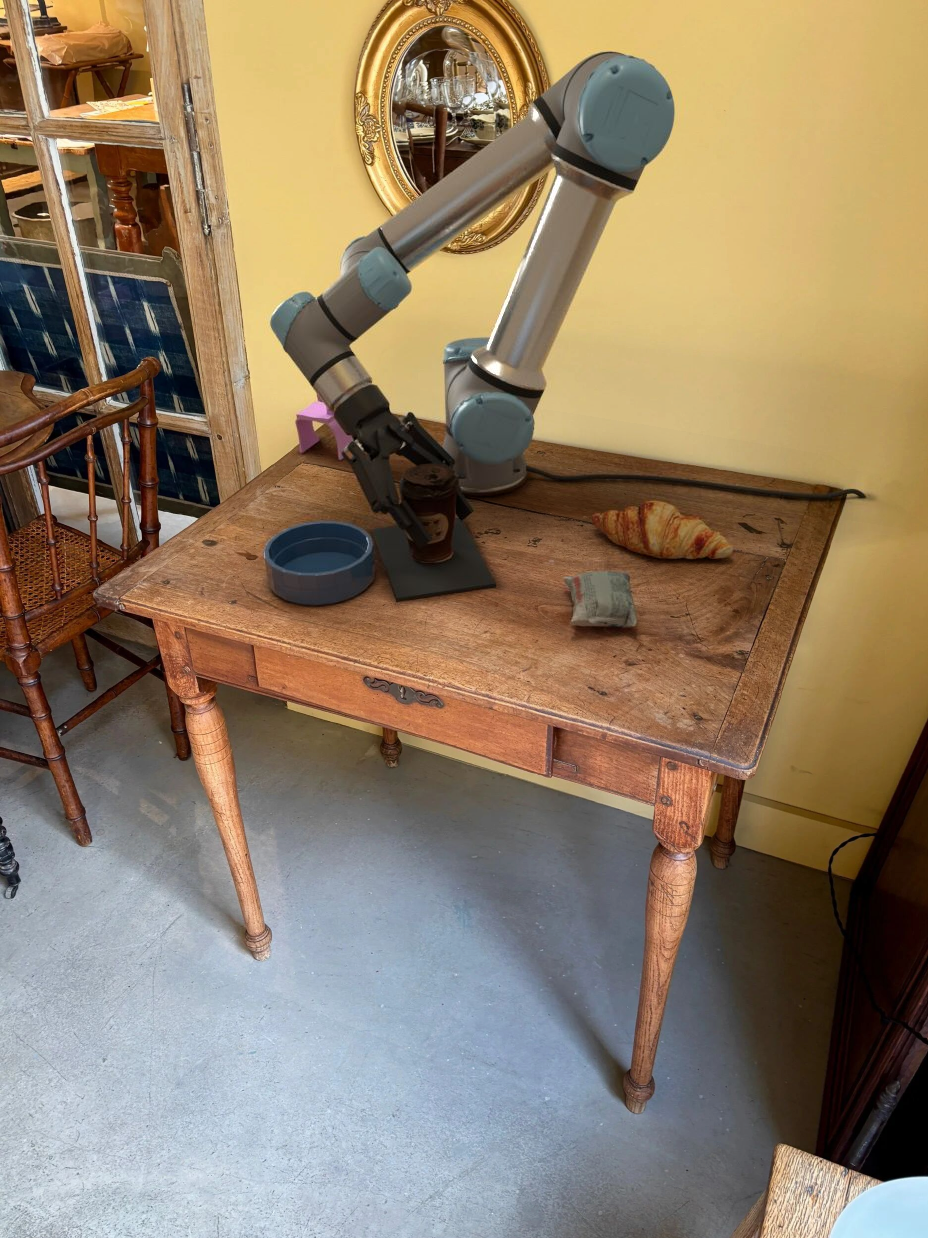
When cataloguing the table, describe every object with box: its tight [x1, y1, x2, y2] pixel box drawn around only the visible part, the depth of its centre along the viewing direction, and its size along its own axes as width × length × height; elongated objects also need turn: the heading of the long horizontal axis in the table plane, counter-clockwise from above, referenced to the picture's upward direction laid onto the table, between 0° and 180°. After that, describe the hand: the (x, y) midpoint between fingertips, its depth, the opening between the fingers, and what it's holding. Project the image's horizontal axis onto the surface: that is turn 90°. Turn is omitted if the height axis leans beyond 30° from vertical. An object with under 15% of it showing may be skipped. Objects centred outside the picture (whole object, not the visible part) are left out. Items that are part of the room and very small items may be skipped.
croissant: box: [591, 499, 734, 560], centre depth 136 cm, size 21×10×8 cm, turn 65°
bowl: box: [263, 520, 377, 606], centre depth 131 cm, size 15×15×5 cm
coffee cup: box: [398, 463, 459, 563], centre depth 132 cm, size 9×8×13 cm
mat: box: [372, 517, 497, 603], centre depth 136 cm, size 14×20×1 cm
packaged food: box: [562, 570, 638, 628], centre depth 122 cm, size 9×12×5 cm
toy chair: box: [295, 394, 353, 461], centre depth 164 cm, size 8×9×15 cm
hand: (447, 529), depth 131 cm, fingers open, 9 cm apart
